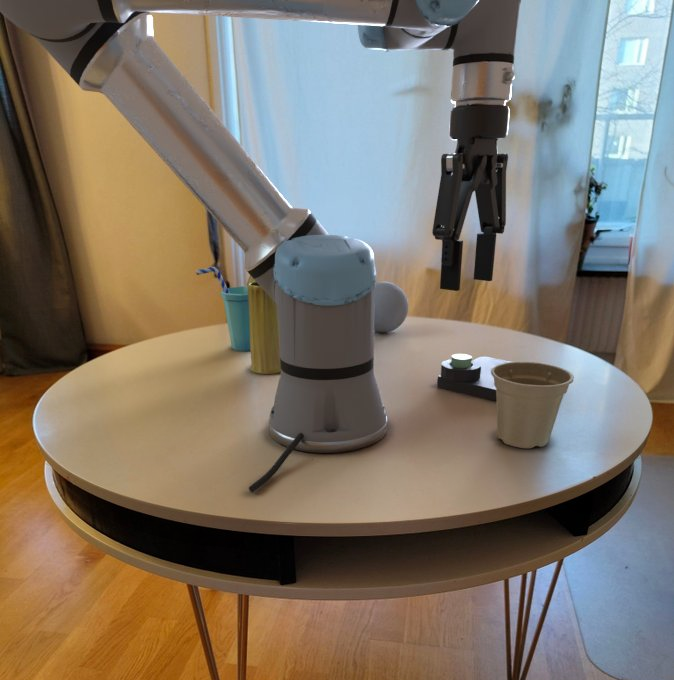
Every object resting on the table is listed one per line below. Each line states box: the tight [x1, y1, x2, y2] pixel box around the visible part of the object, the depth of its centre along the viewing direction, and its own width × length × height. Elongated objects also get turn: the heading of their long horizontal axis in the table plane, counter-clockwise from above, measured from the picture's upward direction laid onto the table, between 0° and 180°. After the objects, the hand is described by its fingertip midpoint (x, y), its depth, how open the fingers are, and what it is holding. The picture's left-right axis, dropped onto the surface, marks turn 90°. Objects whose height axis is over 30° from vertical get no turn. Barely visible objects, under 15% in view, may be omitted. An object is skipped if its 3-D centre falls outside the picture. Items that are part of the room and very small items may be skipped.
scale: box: [436, 355, 512, 402], centre depth 95 cm, size 14×13×4 cm
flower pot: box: [491, 361, 575, 449], centre depth 74 cm, size 9×9×9 cm
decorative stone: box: [374, 281, 409, 334], centre depth 123 cm, size 10×10×10 cm
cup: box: [195, 266, 255, 352], centre depth 113 cm, size 14×8×15 cm, turn 95°
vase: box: [247, 281, 281, 375], centre depth 101 cm, size 6×6×14 cm
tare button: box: [451, 353, 473, 368], centre depth 93 cm, size 3×3×2 cm
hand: (466, 284), depth 88 cm, fingers open, 9 cm apart
